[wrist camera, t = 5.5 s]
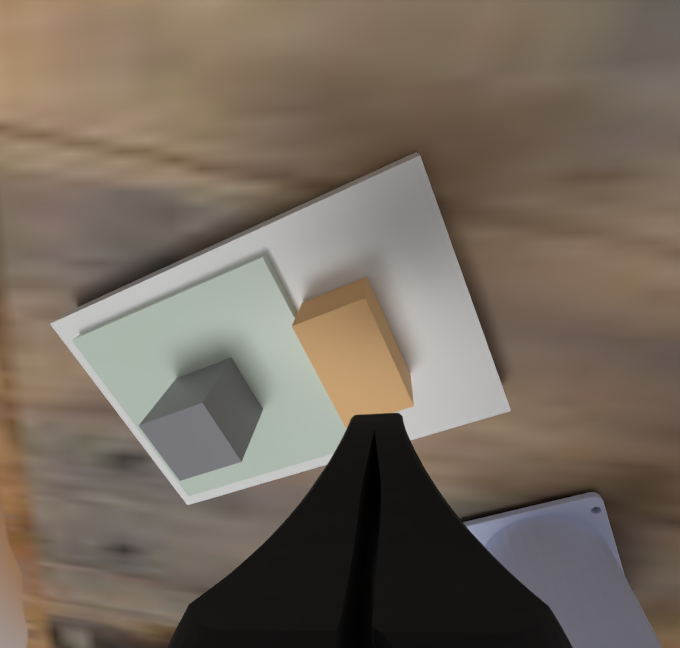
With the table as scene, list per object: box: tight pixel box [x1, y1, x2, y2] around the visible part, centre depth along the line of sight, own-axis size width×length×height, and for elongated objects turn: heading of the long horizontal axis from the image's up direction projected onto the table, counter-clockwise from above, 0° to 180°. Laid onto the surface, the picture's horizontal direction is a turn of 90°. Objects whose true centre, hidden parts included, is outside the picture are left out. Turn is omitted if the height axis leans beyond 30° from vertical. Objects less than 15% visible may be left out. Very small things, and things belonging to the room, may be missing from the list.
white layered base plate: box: [51, 152, 511, 505], centre depth 21 cm, size 18×12×2 cm, turn 114°
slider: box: [292, 277, 414, 427], centre depth 18 cm, size 3×5×2 cm, turn 25°
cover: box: [72, 253, 347, 496], centre depth 19 cm, size 10×10×4 cm
